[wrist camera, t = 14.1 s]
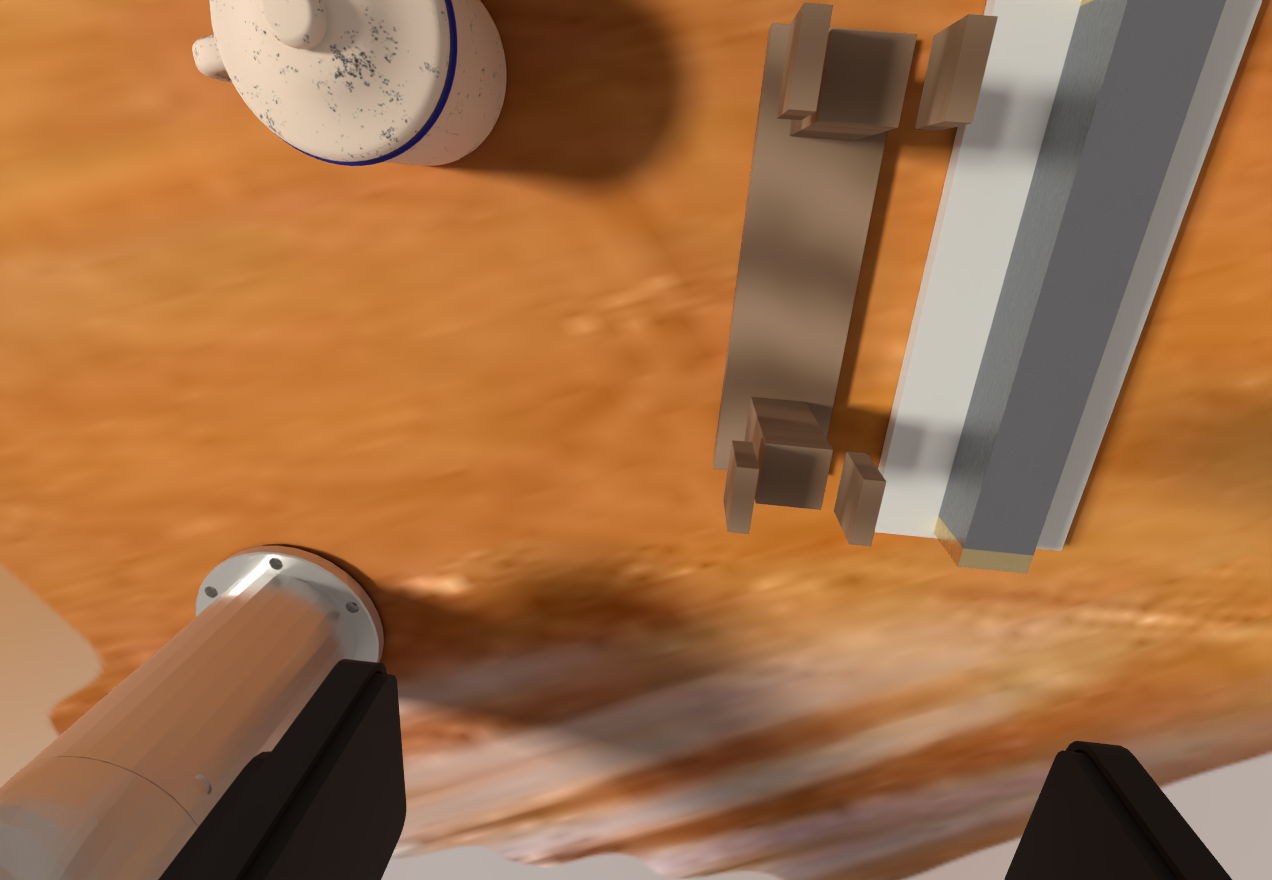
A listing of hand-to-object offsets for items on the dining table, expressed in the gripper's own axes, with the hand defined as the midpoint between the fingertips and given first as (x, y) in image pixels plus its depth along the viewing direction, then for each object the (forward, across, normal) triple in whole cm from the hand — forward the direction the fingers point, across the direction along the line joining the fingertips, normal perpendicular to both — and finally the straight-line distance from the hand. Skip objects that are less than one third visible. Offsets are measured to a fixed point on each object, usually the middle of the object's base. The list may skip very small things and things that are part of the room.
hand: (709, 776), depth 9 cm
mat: (+28, -17, -4) cm, 33 cm away
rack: (+28, -5, -4) cm, 29 cm away
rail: (+27, -17, -4) cm, 32 cm away
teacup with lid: (+28, +16, -12) cm, 35 cm away
